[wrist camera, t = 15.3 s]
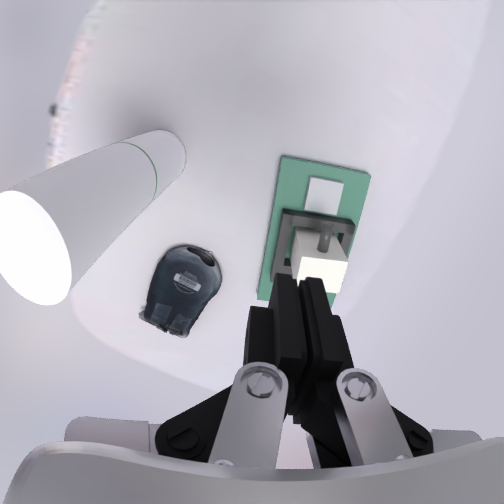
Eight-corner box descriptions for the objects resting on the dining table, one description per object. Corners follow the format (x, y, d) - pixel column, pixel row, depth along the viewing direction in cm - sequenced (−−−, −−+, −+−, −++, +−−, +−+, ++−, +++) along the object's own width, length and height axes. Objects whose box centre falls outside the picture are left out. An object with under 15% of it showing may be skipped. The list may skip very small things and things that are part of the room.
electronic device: (197, 323, 49) (234, 263, 41) (185, 347, 45) (221, 288, 37) (150, 296, 49) (175, 229, 40) (135, 317, 44) (156, 250, 36)
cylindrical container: (123, 154, 35) (-25, 238, 13) (163, 118, 32) (12, 162, 10) (155, 195, 37) (41, 320, 15) (197, 162, 35) (94, 270, 13)
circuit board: (281, 155, 34) (283, 161, 31) (367, 172, 35) (376, 179, 32) (257, 293, 44) (257, 308, 41) (329, 301, 44) (333, 316, 41)
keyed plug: (298, 202, 35) (307, 229, 28) (338, 208, 36) (355, 235, 29) (288, 260, 39) (292, 296, 32) (324, 264, 39) (336, 300, 32)
